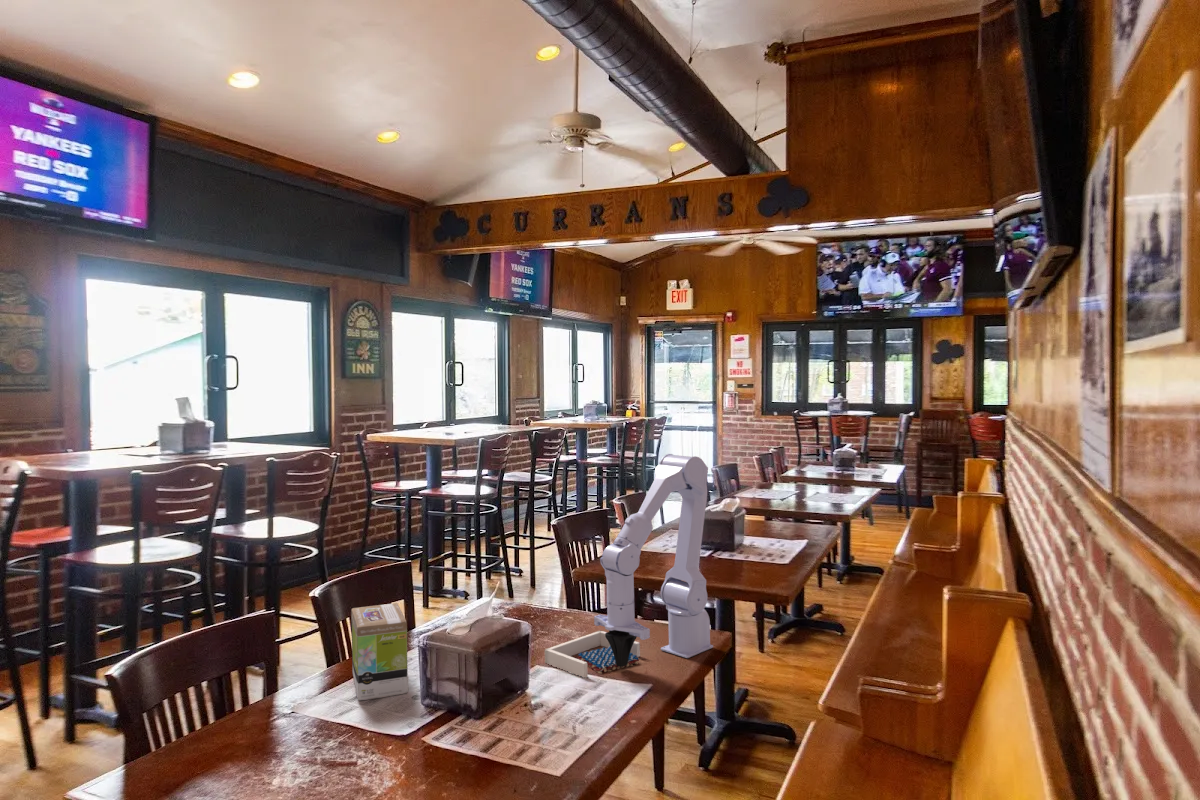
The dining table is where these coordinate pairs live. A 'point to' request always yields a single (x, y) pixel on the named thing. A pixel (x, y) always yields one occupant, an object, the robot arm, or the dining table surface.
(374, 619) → the tea box
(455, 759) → the dining table surface
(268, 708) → the dining table surface
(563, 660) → the frame
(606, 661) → the woven mat
